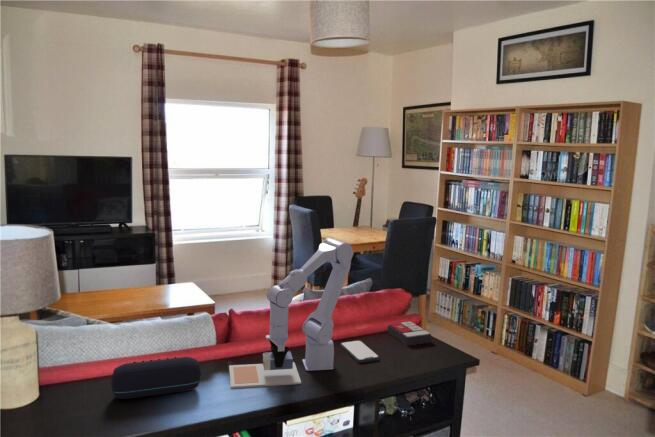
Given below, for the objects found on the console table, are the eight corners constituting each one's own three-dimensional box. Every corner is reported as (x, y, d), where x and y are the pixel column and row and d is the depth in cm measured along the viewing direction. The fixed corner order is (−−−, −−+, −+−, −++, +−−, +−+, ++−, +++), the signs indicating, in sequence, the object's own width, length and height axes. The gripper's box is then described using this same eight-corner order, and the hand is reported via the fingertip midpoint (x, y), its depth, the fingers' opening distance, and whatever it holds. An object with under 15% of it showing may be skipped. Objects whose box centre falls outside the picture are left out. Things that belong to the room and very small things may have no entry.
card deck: (290, 360, 172) (290, 351, 172) (292, 368, 167) (292, 358, 166) (262, 362, 170) (263, 352, 170) (264, 370, 165) (264, 360, 164)
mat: (294, 363, 178) (294, 361, 178) (301, 383, 165) (301, 382, 165) (229, 367, 174) (229, 365, 173) (230, 388, 160) (230, 386, 160)
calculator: (410, 320, 215) (431, 332, 201) (410, 330, 215) (431, 343, 202) (387, 323, 210) (407, 335, 197) (387, 333, 211) (406, 346, 197)
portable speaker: (197, 379, 165) (197, 349, 163) (202, 395, 156) (202, 364, 154) (112, 390, 156) (111, 359, 154) (111, 407, 147) (110, 374, 145)
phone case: (339, 346, 195) (358, 364, 181) (339, 342, 195) (358, 360, 181) (360, 343, 199) (380, 361, 185) (360, 339, 199) (380, 357, 184)
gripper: (264, 315, 172) (263, 353, 174) (268, 332, 158) (267, 374, 161) (285, 314, 173) (284, 352, 176) (291, 331, 160) (290, 372, 162)
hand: (277, 362), depth 168 cm, fingers closed on card deck, 5 cm apart
